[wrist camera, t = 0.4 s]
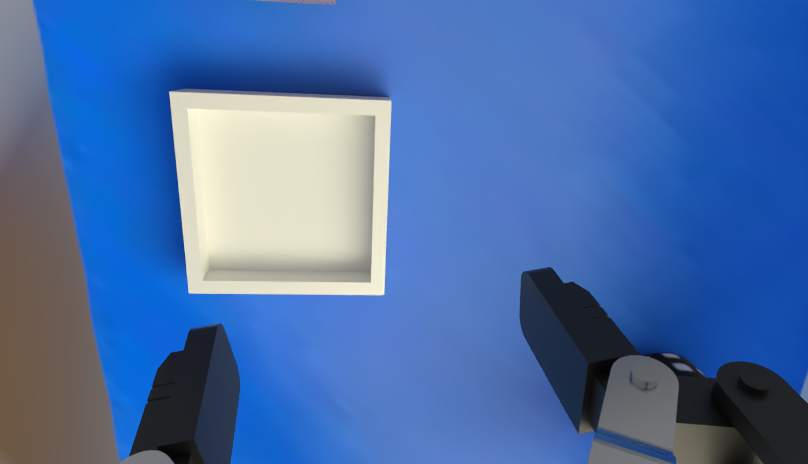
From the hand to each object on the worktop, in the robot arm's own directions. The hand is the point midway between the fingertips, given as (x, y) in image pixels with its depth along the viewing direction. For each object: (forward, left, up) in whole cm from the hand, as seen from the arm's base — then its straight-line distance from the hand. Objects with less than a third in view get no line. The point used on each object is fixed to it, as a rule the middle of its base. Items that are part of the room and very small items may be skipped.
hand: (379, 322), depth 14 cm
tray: (+3, -6, -25) cm, 26 cm away
